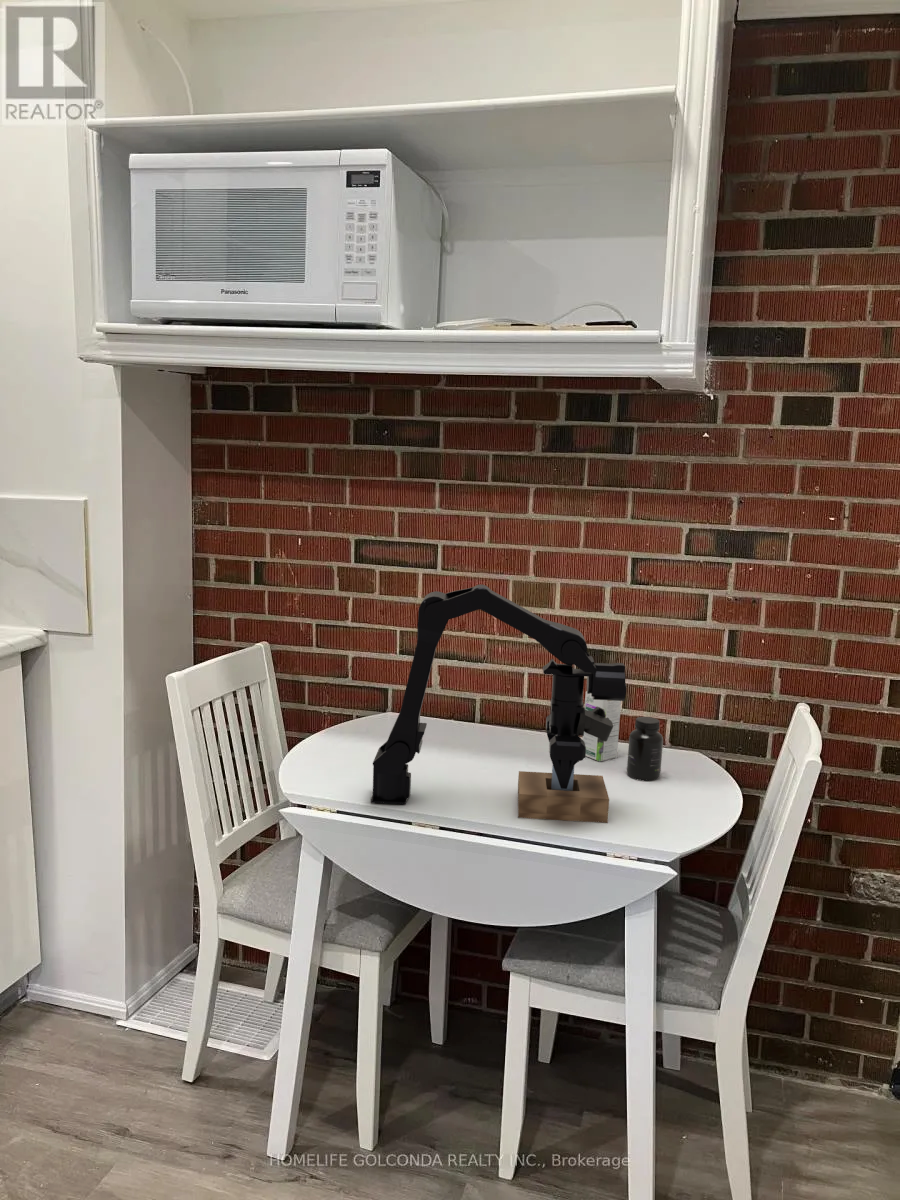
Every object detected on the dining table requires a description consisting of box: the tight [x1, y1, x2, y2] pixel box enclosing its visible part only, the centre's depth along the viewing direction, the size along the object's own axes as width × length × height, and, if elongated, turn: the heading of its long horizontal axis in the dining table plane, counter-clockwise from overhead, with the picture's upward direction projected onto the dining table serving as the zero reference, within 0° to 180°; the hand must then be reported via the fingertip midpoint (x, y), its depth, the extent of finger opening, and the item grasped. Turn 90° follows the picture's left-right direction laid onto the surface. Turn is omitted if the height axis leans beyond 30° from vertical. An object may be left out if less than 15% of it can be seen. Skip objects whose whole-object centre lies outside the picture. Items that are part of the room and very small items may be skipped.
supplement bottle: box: [626, 716, 664, 782], centre depth 194 cm, size 7×7×12 cm
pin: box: [551, 765, 575, 791], centre depth 176 cm, size 4×4×10 cm
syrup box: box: [582, 690, 622, 763], centre depth 205 cm, size 6×6×14 cm
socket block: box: [517, 770, 610, 824], centre depth 176 cm, size 16×12×4 cm
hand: (562, 779), depth 176 cm, fingers open, 9 cm apart
